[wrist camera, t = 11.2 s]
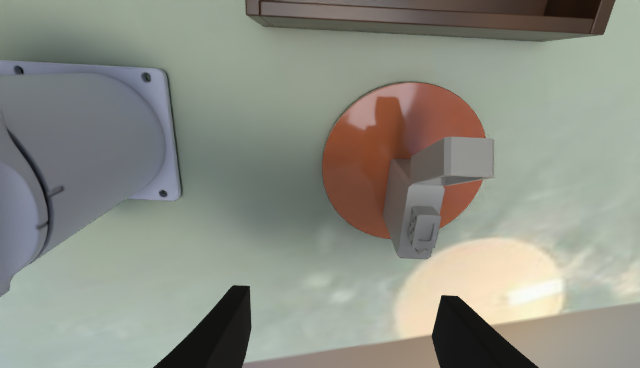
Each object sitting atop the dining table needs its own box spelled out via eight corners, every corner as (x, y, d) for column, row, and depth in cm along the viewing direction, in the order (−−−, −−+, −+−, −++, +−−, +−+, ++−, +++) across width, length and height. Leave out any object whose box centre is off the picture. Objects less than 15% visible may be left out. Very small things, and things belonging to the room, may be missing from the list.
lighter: (408, 220, 20) (459, 313, 12) (382, 219, 20) (417, 311, 12) (427, 109, 17) (506, 143, 10) (397, 108, 17) (452, 140, 10)
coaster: (318, 231, 21) (318, 235, 20) (326, 77, 17) (326, 77, 17) (463, 238, 21) (467, 243, 21) (501, 86, 17) (507, 86, 17)
